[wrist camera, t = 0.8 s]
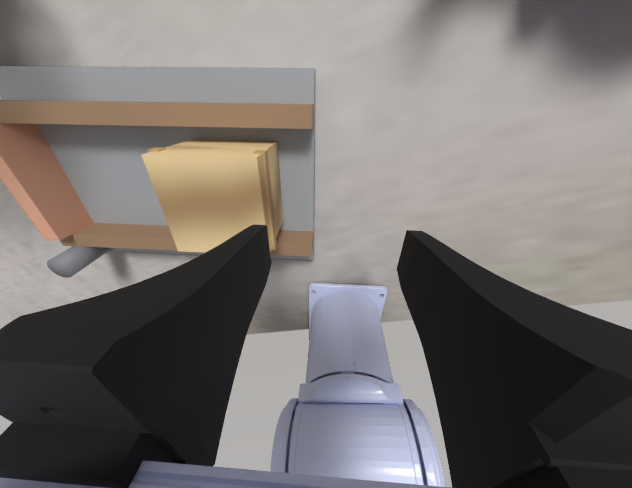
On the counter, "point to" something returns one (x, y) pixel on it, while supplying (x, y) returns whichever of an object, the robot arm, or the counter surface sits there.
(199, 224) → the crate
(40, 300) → the counter surface
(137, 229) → the bay
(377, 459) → the robot arm
